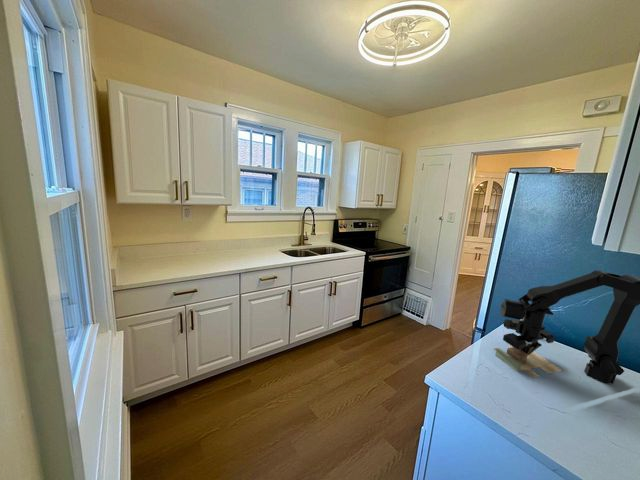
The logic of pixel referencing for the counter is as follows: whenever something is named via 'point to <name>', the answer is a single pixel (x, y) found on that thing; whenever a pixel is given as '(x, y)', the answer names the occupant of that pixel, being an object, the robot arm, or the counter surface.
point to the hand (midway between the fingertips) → (523, 357)
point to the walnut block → (518, 355)
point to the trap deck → (527, 362)
